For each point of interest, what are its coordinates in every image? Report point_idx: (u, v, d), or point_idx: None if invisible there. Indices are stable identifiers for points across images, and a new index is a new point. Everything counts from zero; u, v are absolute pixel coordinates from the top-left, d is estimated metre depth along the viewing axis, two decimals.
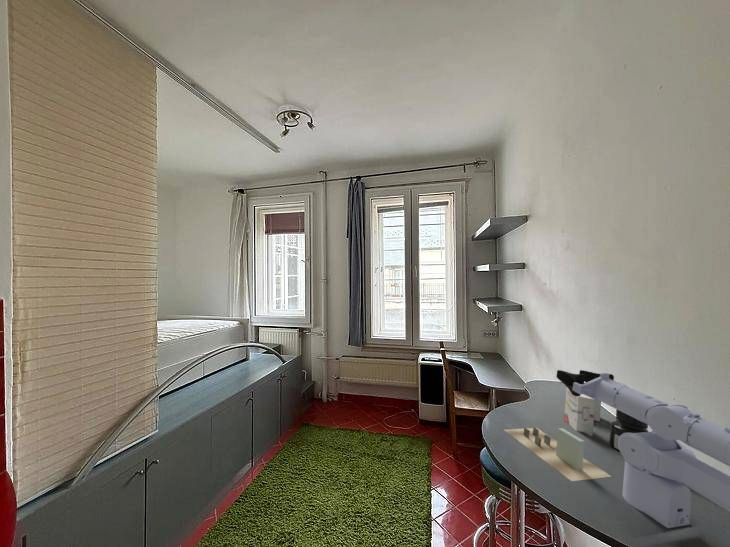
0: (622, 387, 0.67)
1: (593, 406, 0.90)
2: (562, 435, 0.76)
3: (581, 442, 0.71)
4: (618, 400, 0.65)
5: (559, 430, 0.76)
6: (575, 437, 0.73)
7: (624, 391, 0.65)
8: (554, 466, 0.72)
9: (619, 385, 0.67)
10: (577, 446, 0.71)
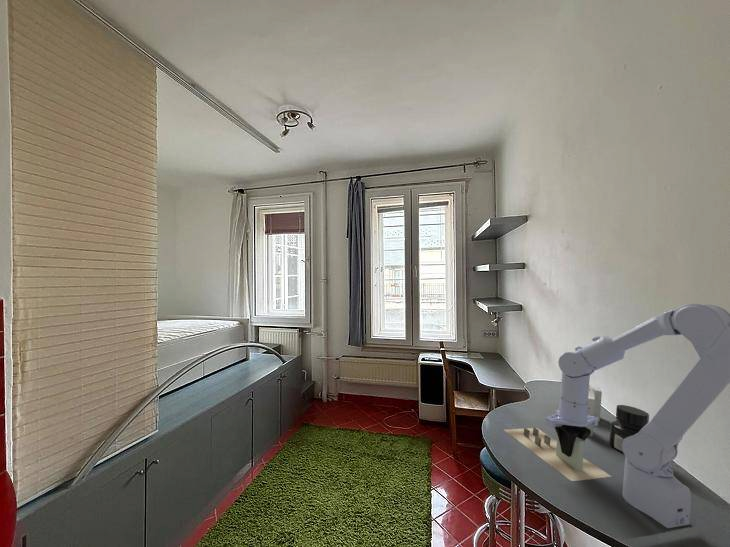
0: None
1: (593, 406, 0.90)
2: None
3: (581, 442, 0.71)
4: (567, 397, 0.73)
5: None
6: None
7: (560, 393, 0.75)
8: (554, 466, 0.72)
9: None
10: (577, 446, 0.71)
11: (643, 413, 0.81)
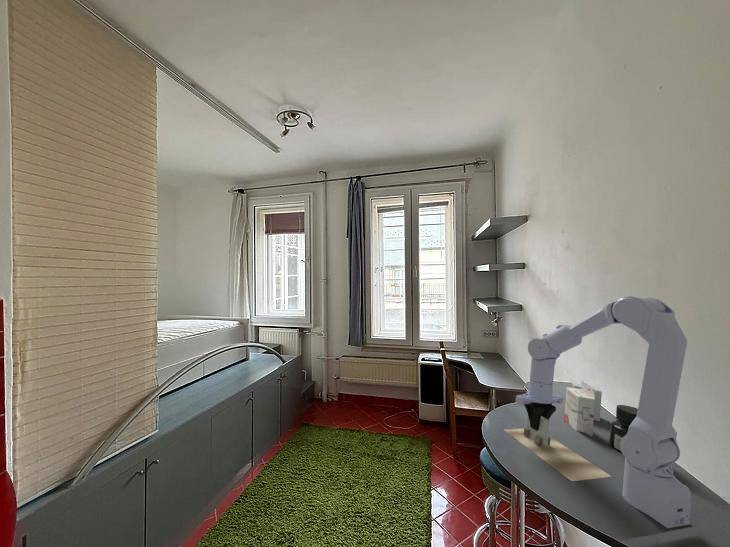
0: None
1: (593, 406, 0.90)
2: None
3: (546, 421, 0.81)
4: (534, 378, 0.83)
5: None
6: (542, 417, 0.82)
7: (530, 374, 0.85)
8: (554, 466, 0.72)
9: None
10: (543, 425, 0.81)
11: None
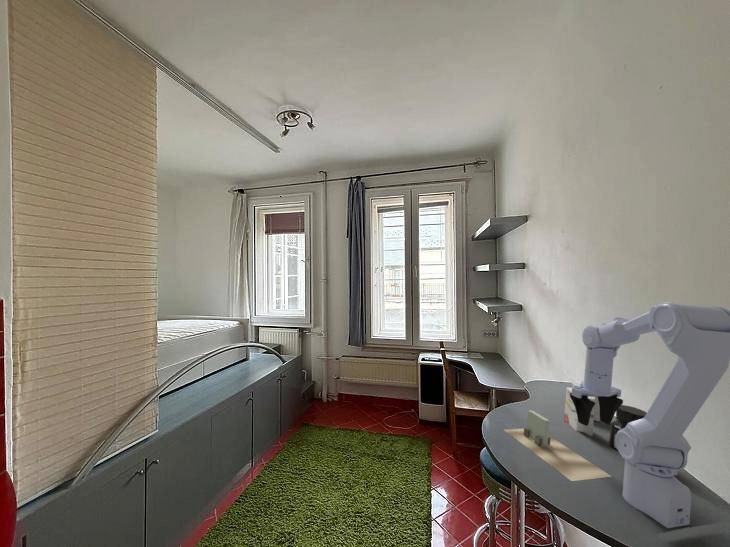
0: None
1: None
2: (531, 416, 0.85)
3: (546, 421, 0.81)
4: (586, 367, 0.79)
5: (529, 412, 0.86)
6: (542, 417, 0.82)
7: None
8: (554, 466, 0.72)
9: None
10: (543, 425, 0.81)
11: (643, 413, 0.81)
